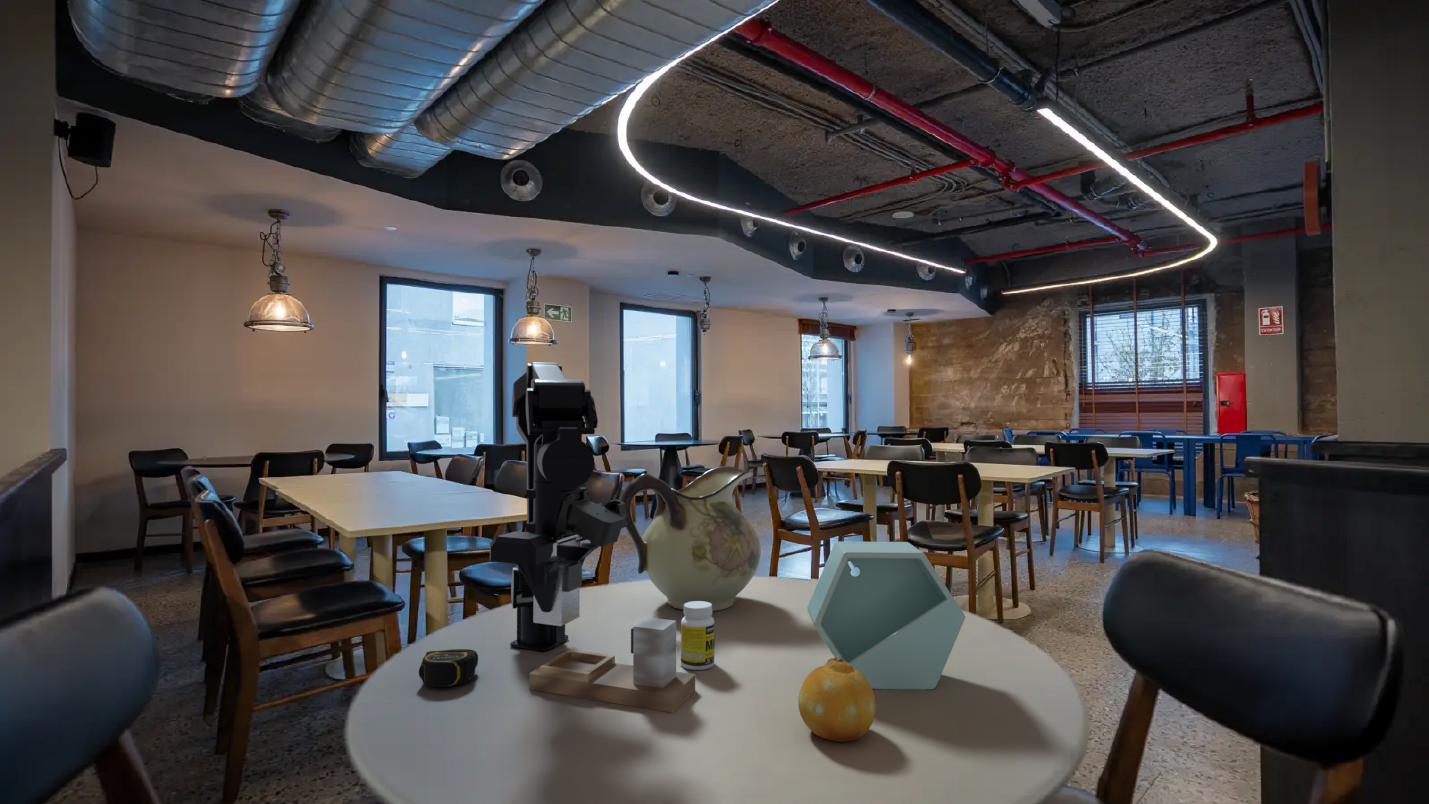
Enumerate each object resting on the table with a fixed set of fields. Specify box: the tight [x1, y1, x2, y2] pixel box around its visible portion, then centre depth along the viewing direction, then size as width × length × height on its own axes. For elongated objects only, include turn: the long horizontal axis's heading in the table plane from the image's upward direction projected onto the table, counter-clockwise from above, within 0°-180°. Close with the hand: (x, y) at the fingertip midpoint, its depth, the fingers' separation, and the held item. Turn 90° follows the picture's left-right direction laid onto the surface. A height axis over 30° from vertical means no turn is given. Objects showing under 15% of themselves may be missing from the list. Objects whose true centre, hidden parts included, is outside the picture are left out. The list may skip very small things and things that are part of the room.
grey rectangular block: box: [533, 559, 583, 626], centre depth 84 cm, size 4×5×7 cm
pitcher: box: [619, 465, 762, 612], centre depth 127 cm, size 22×24×25 cm
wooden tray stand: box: [528, 617, 696, 713], centre depth 87 cm, size 20×7×9 cm, turn 70°
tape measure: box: [418, 648, 479, 688], centre depth 90 cm, size 7×7×4 cm
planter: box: [806, 541, 966, 691], centre depth 91 cm, size 17×8×21 cm
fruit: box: [797, 657, 877, 742], centre depth 75 cm, size 8×8×8 cm
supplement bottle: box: [680, 601, 715, 671], centre depth 96 cm, size 5×5×8 cm
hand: (556, 607), depth 84 cm, fingers closed on grey rectangular block, 4 cm apart
